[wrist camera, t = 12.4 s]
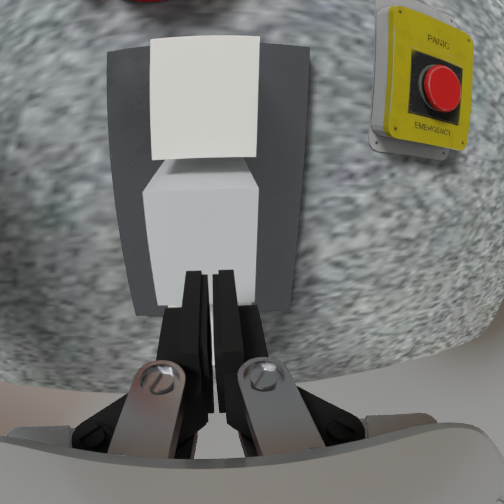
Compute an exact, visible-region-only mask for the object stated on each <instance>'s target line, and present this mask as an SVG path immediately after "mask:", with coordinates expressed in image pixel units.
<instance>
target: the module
mask: <svg viewBox="0 0 504 504" xmlns="http://www.w3.org/2000/svg"><path fill="white" fill-rule="evenodd" d="M258 198H259V188H258V186H257V184H256V182H255V180H254V178H253V176H252V174H251V172H250V170H249V168H248V166H247V164H246V162H245V160H244V158H243V157H213V158H184V159H165V161H164V162H163V163H162V165H161V166H160V168H159V169H158V171H157V172H156V173H155V175H154V176H153V178H152V179H151V181H150V182H149V183H148V185H147V186H146V188H145V189H144V191H143V203H144V212H145V221H146V230H147V238H148V245H149V253H150V260H151V267H152V273H153V280H154V286H155V292H156V298H157V303H158V306H159V305H182V300H183V291H184V283H185V275H186V271H202V275H203V274H208V288H209V304H213V282H212V274H218V270H234V277H235V285H236V293H237V301H238V303H248V302H255V278H256V252H257V225H258Z"/></svg>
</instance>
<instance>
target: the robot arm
mask: <svg viewBox="0 0 504 504" xmlns="http://www.w3.org/2000/svg"><path fill="white" fill-rule="evenodd" d="M212 282H213V338H214V359H215V371H216V383H217V393H218V403H219V412H220V413H226V418H227V424H229V425H230V426H231V427H233V428H234V429H236V430H237V431H238V433H239V438H240V442H241V445H242V448H243V451H244V455H245V458H229V459H194V455H195V449H196V443H197V438H198V437H197V436H198V435H197V431H199V430H200V429H201V428H202V427H204V426H205V425H206V422H208V413H214V396H213V367H212V333H211V319H210V304H209V288H208V274H203V275H202V271H186V275H185V283H184V291H183V300H182V307H169V308H165V311H164V316H163V321H162V327H161V333H160V339H159V345H158V351H157V358H156V361H152V362H149V363H147V364H145V365H143V366H142V367H141V368H140V369H139V370H138V372H137V373H136V375H135V377H134V380H133V383H132V385H131V388H130V390H129V393H127V394H126V395H124V396H123V397H121V398H120V399H118V400H117V401H115V402H114V403H112V404H111V405H109V406H107V407H106V408H104V409H103V410H101V411H100V412H98V413H96V414H95V415H94V416H92V417H90V418H89V419H87V420H85V421H84V422H82V423H81V424H80V425H79V426H77V427H76V428H71V427H70V426H39V427H16V428H14V429H13V430H11V431H10V432H9V434H8V435H7V436H0V504H504V458H503V456H502V454H501V452H500V451H499V449H498V448H497V447H496V445H495V444H494V443H493V441H492V440H491V439H490V438H489V436H488V435H487V434H486V433H485V432H484V431H482V430H481V429H479V428H478V427H475V426H473V425H469V424H463V423H450V422H449V423H437V421H436V420H435V419H434V418H433V417H432V416H430V415H428V414H426V413H412V414H397V415H377V416H376V415H373V416H366V418H365V419H358V418H357V417H356V416H354V415H353V414H351V413H349V412H346V411H345V410H343V409H340V408H338V407H336V406H334V405H332V404H330V403H328V402H326V401H324V400H322V399H321V398H319V397H316V396H315V395H313V394H311V393H309V392H307V391H305V390H303V389H301V388H300V387H298V386H296V384H295V382H294V380H293V378H292V376H291V374H290V372H289V370H288V368H287V367H286V366H285V365H284V364H283V363H282V362H280V361H278V360H276V359H273V358H269V357H268V352H267V348H266V343H265V338H264V333H263V329H262V324H261V319H260V314H259V310H258V306H257V305H239V306H238V301H237V293H236V285H235V277H234V270H218V274H212Z"/></svg>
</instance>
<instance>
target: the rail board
mask: <svg viewBox="0 0 504 504" xmlns="http://www.w3.org/2000/svg"><path fill="white" fill-rule="evenodd" d="M309 58H310V47H302V46H292V45H282V44H269V43H260V47H259V81H258V114H257V148H256V157H243V158H244V160H245V162H246V164H247V166H248V168H249V170H250V172H251V174H252V176H253V178H254V180H255V182H256V184H257V186H258V188H259V198H258V225H257V252H256V278H255V302H252V305H257V306H258V310H259V312H264V311H279V310H290V303H291V294H292V285H293V277H294V267H295V258H296V248H297V238H298V228H299V217H300V206H301V194H302V182H303V169H304V155H305V140H306V124H307V105H308V84H309ZM107 112H108V133H109V147H110V160H111V170H112V180H113V189H114V197H115V205H116V212H117V219H118V226H119V232H120V239H121V245H122V250H123V256H124V261H125V267H126V272H127V277H128V282H129V286H130V291H131V295H132V300H133V304H134V309H135V313H136V316H157V315H164V311H165V308H168V305H159V306H158V303H157V298H156V292H155V286H154V280H153V273H152V267H151V260H150V253H149V245H148V238H147V230H146V221H145V212H144V203H143V191H144V189H145V188H146V186H147V185H148V183H149V182H150V181H151V179H152V178H153V176H154V175H155V173H156V172H157V171H158V169H159V168H160V166H161V165H162V163H163V162H164V161H165V160H152V151H151V128H150V46H145V47H136V48H129V49H122V50H116V51H110V52H107Z"/></svg>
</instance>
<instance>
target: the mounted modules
mask: <svg viewBox="0 0 504 504" xmlns="http://www.w3.org/2000/svg"><path fill="white" fill-rule="evenodd" d="M259 47H260V36H232V35H212V36H185V37H170V38H159V39H151V42H150V128H151V151H152V160H165V159H184V158H213V157H256V148H257V114H258V81H259ZM239 305H252V302H248V303H238V306H239ZM169 307H182V305H168V308H169ZM210 319H211V333H212V365H215V359H214V338H213V304H210Z"/></svg>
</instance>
